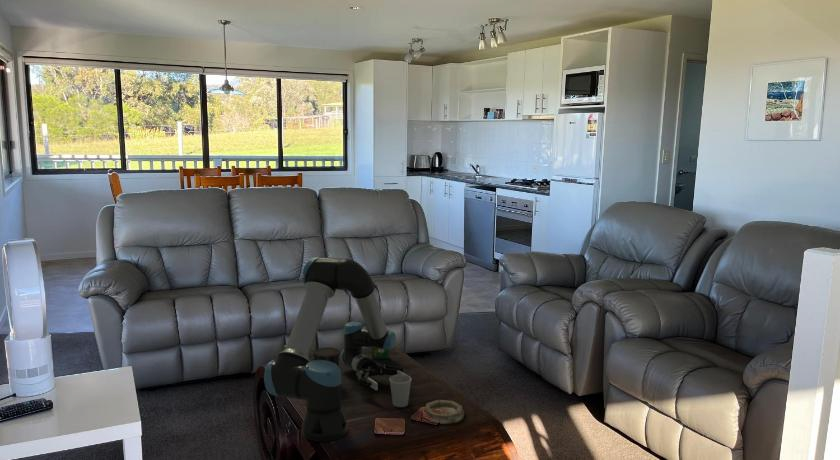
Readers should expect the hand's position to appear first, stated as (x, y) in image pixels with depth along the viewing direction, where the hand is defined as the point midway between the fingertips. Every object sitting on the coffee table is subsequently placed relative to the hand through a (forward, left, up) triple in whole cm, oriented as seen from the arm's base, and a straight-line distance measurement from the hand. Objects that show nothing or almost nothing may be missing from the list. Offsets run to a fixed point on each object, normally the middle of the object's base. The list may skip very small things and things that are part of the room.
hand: (392, 382), depth 229 cm
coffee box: (+18, +39, -6) cm, 44 cm away
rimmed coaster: (+7, -23, -6) cm, 25 cm away
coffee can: (-16, +24, -6) cm, 30 cm away
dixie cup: (-1, -7, -6) cm, 9 cm away
